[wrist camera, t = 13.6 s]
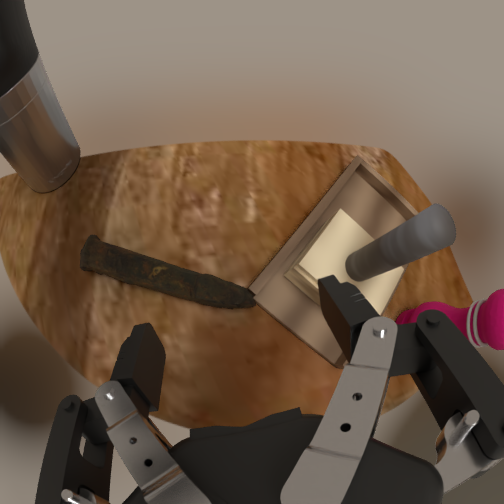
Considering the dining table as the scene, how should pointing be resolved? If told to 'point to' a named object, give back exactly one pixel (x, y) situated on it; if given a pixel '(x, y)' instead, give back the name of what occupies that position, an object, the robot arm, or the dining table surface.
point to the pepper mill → (470, 319)
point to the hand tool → (162, 276)
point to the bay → (272, 277)
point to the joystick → (369, 253)
